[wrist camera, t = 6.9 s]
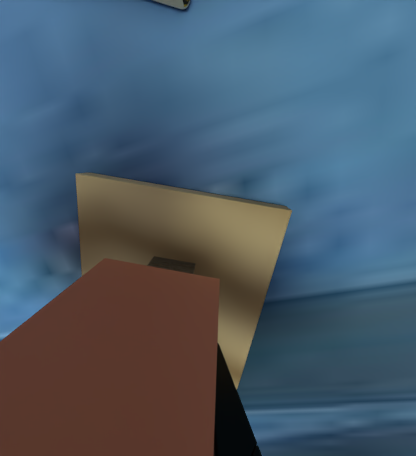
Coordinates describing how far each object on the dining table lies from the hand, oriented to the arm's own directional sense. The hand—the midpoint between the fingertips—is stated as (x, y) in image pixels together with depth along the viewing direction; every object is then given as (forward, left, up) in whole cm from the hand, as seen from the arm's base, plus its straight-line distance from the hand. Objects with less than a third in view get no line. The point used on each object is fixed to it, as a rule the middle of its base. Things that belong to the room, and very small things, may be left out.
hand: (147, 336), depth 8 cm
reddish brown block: (0, 0, -1) cm, 1 cm away
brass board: (-6, 0, -6) cm, 9 cm away
